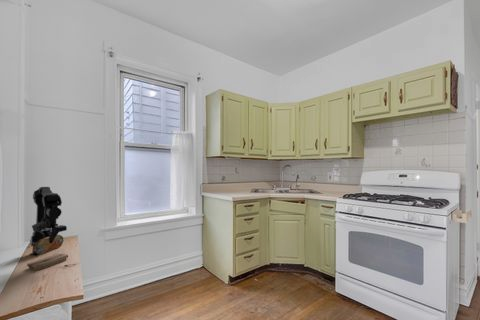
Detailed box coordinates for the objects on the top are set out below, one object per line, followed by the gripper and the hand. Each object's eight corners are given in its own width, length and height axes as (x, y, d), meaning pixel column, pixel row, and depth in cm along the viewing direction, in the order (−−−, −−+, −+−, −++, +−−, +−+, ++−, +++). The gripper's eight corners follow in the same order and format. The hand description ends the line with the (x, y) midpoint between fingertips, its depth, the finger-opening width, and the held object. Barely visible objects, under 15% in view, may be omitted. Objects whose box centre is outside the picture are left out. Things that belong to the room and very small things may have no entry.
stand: (26, 269, 131) (27, 263, 131) (57, 258, 148) (58, 253, 148) (37, 270, 129) (38, 265, 129) (67, 259, 146) (68, 254, 146)
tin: (36, 257, 132) (37, 242, 131) (32, 255, 132) (33, 241, 132) (63, 246, 146) (64, 233, 146) (59, 245, 147) (60, 232, 146)
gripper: (23, 217, 134) (21, 245, 134) (48, 219, 130) (46, 248, 129) (44, 213, 145) (42, 240, 144) (67, 215, 140) (66, 242, 140)
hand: (49, 242), depth 139 cm, fingers closed on tin, 3 cm apart
